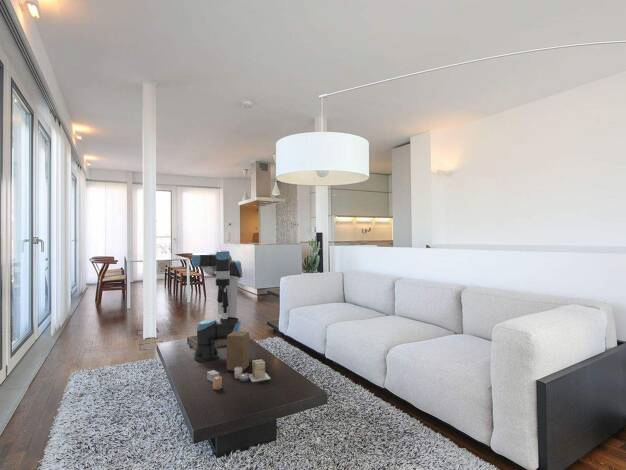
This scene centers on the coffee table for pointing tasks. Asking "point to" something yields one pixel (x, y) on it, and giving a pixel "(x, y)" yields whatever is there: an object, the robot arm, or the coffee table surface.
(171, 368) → the coffee table surface
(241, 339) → the wooden block
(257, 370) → the maple block
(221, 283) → the robot arm
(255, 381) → the coaster
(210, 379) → the grey box
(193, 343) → the book
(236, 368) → the grey rounded cylinder
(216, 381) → the peach capsule
